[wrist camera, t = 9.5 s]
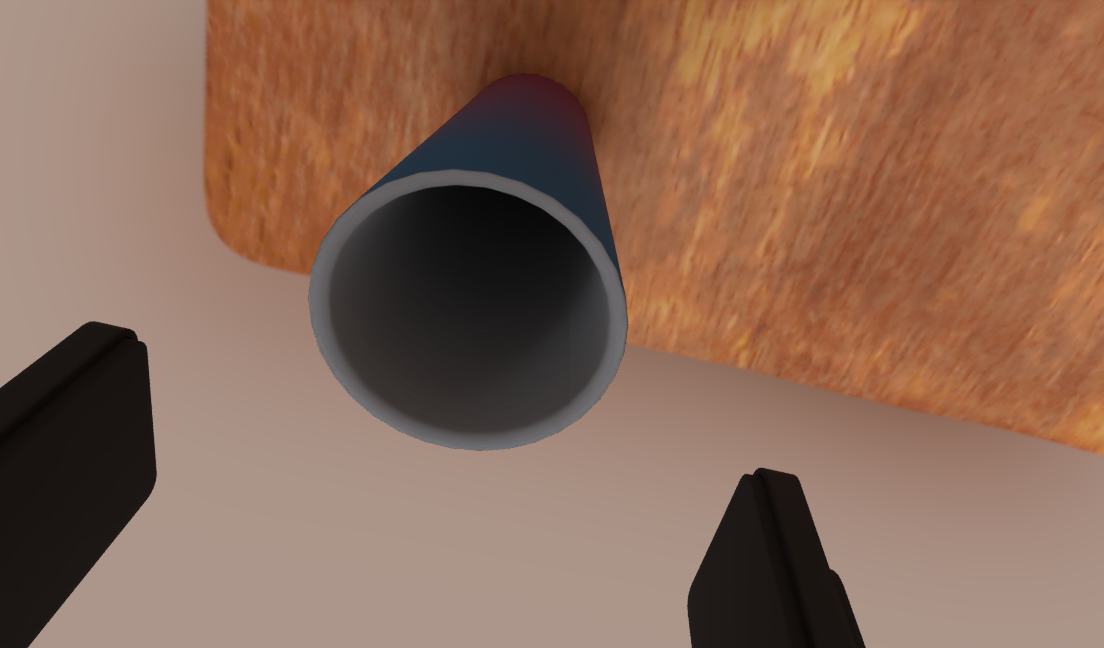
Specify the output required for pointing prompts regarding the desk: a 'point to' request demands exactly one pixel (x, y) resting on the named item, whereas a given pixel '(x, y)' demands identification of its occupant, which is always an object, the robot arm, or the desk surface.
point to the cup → (478, 277)
